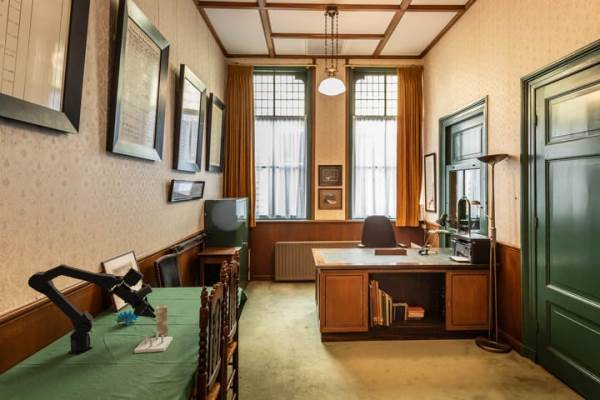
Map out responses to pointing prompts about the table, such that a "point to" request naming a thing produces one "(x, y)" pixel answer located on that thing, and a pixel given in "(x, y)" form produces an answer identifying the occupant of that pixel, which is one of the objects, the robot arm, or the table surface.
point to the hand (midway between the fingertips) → (154, 314)
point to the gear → (126, 318)
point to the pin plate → (153, 344)
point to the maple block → (162, 320)
